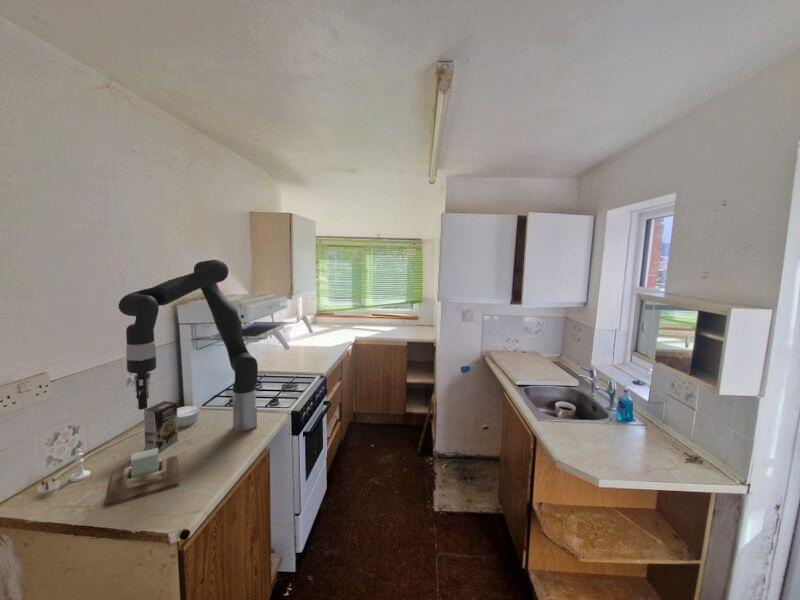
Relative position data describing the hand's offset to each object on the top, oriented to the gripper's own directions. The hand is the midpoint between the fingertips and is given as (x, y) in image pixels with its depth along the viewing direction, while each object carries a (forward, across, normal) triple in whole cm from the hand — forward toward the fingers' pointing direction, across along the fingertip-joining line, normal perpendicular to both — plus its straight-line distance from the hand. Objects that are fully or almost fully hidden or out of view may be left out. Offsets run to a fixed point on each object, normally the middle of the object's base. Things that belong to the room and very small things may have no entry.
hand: (143, 403), depth 109 cm
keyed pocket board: (+26, +1, 0) cm, 26 cm away
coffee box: (+26, -21, +4) cm, 34 cm away
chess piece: (+26, -11, -18) cm, 34 cm away
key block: (+25, +1, 0) cm, 25 cm away
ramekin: (+27, -38, +12) cm, 48 cm away
